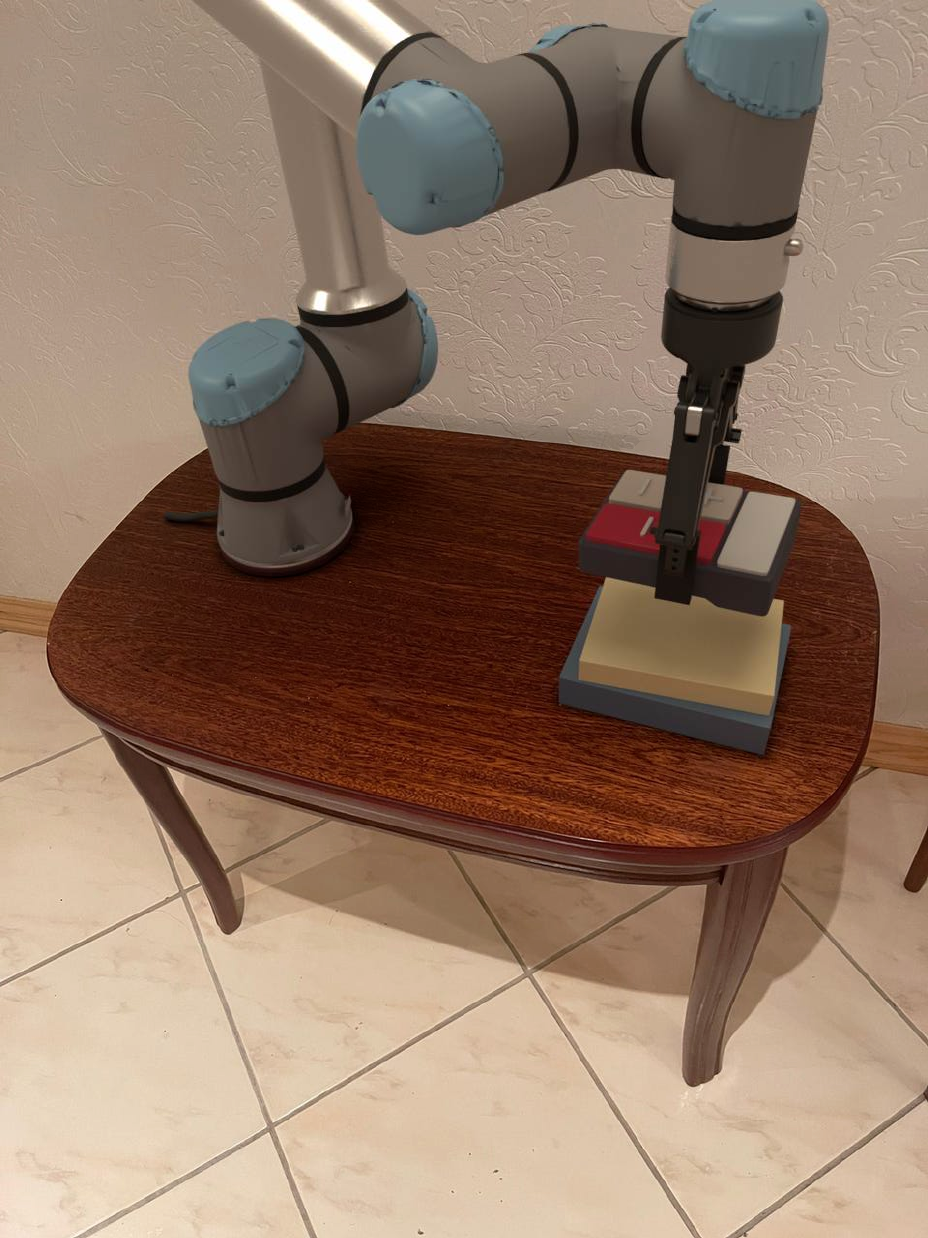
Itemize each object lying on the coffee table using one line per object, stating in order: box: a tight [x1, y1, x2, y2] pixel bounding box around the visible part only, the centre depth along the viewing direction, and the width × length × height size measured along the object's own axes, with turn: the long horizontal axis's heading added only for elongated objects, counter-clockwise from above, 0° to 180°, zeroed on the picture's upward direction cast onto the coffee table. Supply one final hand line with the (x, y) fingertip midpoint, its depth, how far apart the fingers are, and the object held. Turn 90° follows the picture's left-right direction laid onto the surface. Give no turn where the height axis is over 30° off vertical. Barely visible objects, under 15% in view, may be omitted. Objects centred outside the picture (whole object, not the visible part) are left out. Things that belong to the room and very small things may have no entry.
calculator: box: [578, 469, 803, 617], centre depth 71 cm, size 11×4×15 cm
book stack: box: [558, 577, 792, 756], centre depth 80 cm, size 18×13×6 cm
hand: (688, 552), depth 72 cm, fingers closed on calculator, 11 cm apart
